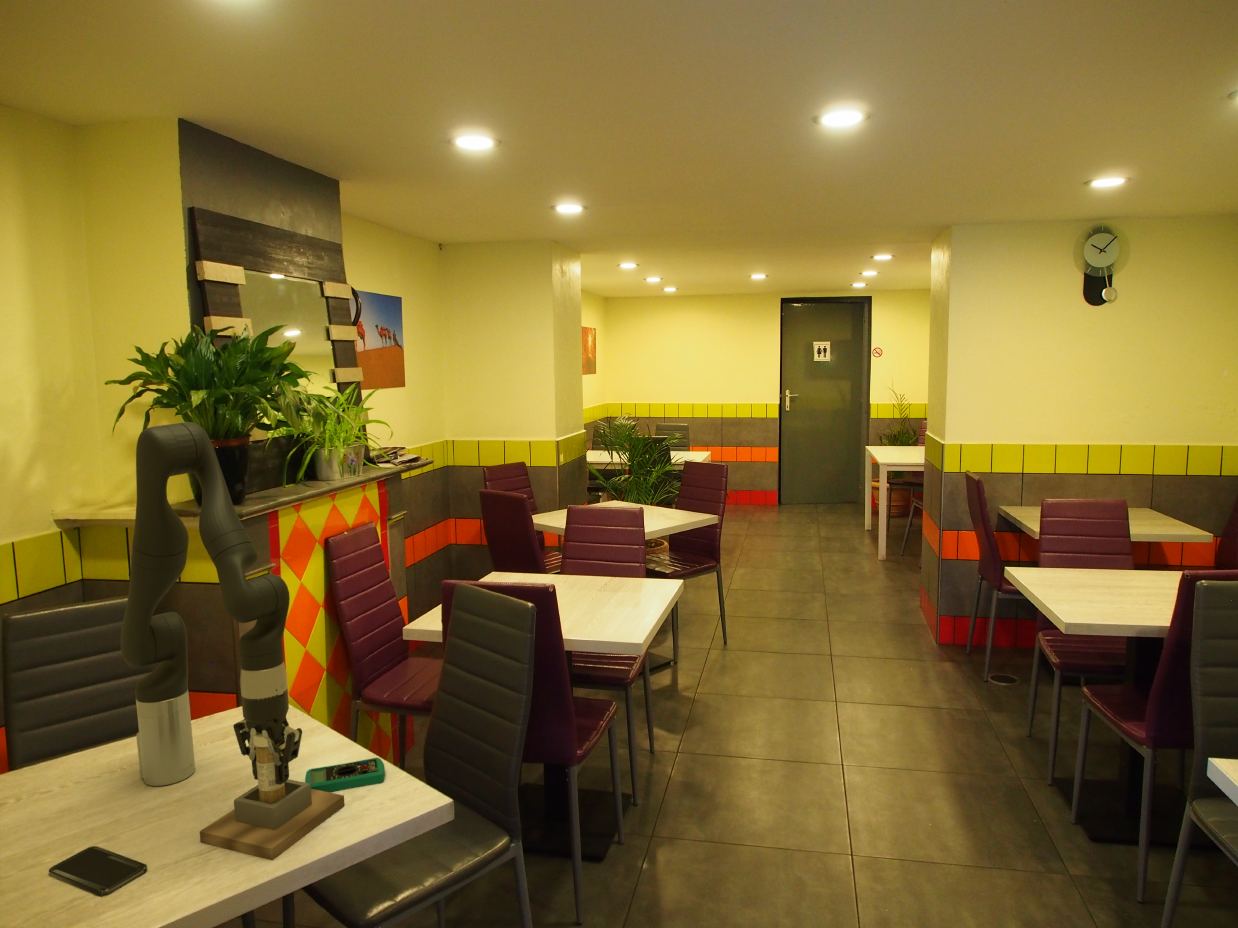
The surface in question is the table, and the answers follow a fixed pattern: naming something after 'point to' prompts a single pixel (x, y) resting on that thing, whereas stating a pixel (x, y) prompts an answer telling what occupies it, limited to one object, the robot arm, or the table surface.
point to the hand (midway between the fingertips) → (271, 779)
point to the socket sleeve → (273, 806)
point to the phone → (98, 870)
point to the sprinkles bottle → (267, 772)
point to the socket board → (267, 840)
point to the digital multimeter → (346, 775)
